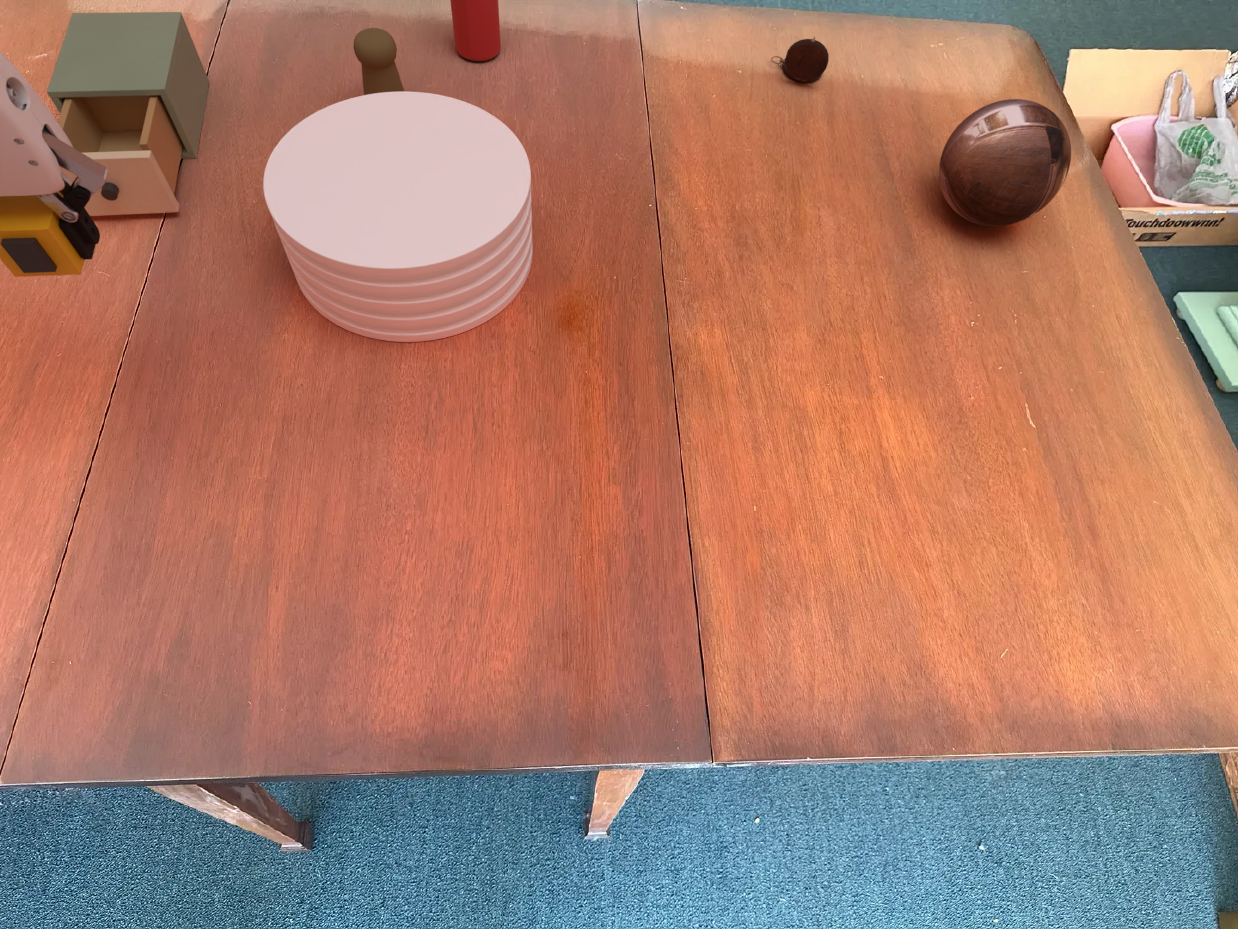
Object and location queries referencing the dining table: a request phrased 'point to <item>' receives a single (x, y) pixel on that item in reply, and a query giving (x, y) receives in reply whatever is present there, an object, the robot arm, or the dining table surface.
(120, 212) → the drawer
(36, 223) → the yellow block
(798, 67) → the compass
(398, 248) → the plate stack
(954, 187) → the wooden sphere
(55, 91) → the cabinet
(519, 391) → the dining table surface
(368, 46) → the brown knobbed cone
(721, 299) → the dining table surface
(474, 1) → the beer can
